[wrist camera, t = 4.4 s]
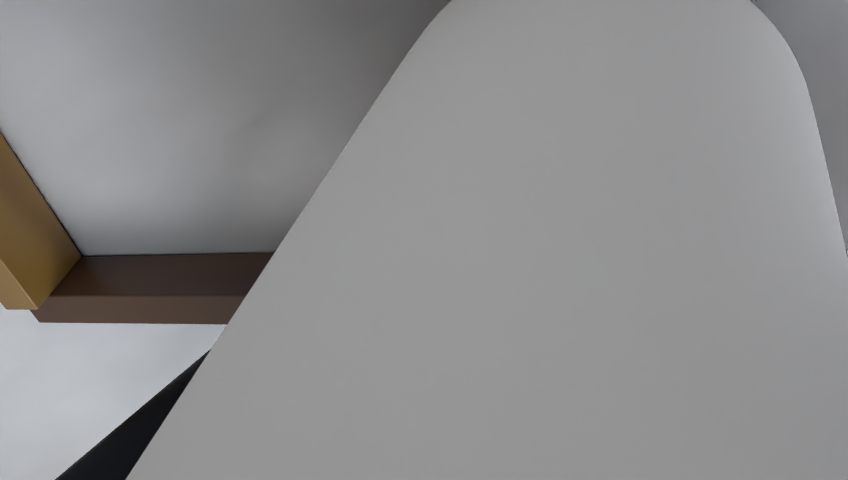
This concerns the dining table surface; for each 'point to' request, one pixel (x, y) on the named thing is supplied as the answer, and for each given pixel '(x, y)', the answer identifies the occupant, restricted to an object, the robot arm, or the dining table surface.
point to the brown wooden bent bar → (106, 270)
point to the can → (549, 268)
